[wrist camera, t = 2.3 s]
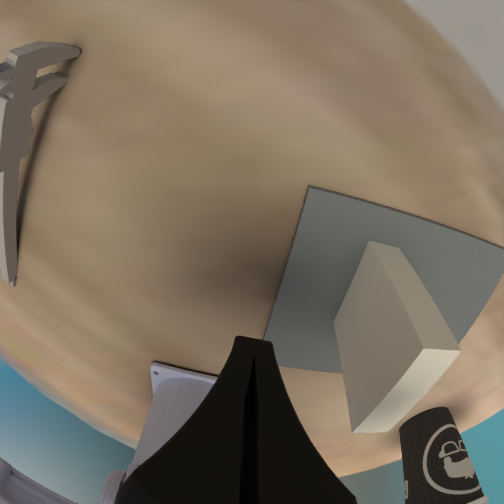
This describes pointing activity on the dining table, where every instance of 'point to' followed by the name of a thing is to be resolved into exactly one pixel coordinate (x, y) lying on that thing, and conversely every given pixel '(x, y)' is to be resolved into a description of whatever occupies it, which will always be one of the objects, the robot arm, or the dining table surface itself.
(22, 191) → the dining table surface
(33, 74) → the caliper
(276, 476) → the robot arm
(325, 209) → the mat
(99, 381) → the dining table surface
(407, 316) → the tile
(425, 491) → the coffee cup
